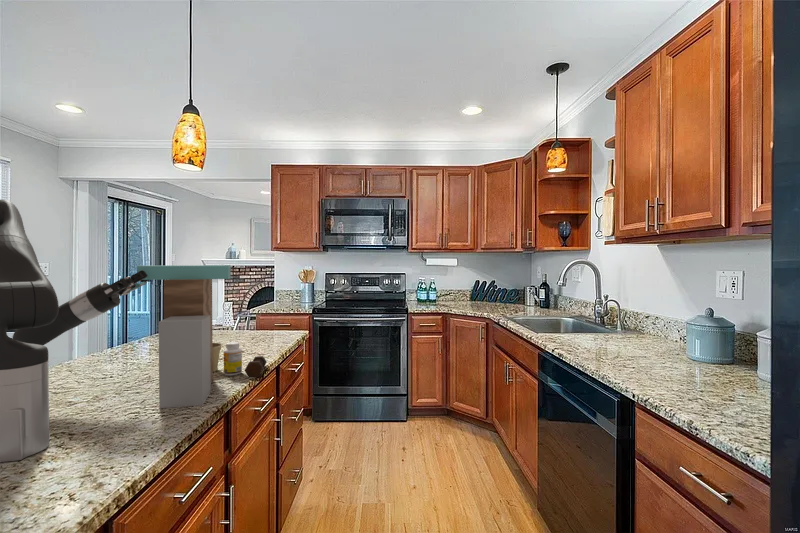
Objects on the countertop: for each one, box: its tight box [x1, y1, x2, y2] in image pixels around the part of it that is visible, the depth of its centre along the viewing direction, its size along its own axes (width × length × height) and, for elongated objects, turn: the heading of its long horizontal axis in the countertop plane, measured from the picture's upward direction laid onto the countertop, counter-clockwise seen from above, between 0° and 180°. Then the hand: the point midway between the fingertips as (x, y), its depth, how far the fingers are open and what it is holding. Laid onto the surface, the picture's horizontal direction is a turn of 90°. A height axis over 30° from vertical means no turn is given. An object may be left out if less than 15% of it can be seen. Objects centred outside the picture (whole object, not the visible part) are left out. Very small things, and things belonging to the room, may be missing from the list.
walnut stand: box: [163, 279, 214, 383], centre depth 119 cm, size 12×10×32 cm
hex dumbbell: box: [244, 355, 268, 379], centre depth 136 cm, size 6×5×15 cm
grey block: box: [158, 315, 212, 409], centre depth 108 cm, size 10×10×22 cm
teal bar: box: [136, 264, 231, 281], centre depth 118 cm, size 4×24×4 cm, turn 104°
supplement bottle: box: [223, 341, 243, 377], centre depth 133 cm, size 6×6×10 cm
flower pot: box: [212, 342, 223, 373], centre depth 137 cm, size 9×9×9 cm
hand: (151, 272), depth 116 cm, fingers open, 8 cm apart
